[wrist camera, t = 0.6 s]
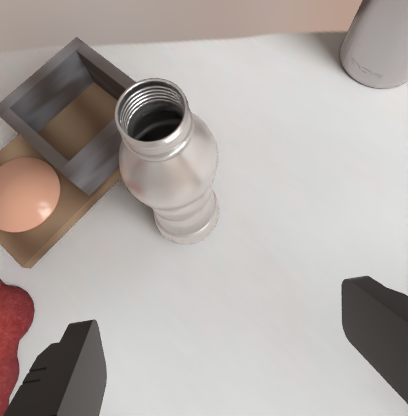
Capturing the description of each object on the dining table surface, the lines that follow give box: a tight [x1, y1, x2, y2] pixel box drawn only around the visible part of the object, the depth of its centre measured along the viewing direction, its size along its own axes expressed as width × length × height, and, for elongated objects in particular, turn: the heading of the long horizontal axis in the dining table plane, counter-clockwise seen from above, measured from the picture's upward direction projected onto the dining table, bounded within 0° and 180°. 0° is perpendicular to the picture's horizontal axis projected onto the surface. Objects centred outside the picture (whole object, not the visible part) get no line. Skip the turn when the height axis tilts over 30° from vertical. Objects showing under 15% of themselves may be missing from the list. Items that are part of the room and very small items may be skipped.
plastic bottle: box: [115, 78, 219, 245], centre depth 25 cm, size 6×7×20 cm
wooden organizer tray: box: [0, 37, 136, 268], centre depth 34 cm, size 21×12×6 cm, turn 139°
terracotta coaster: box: [0, 157, 61, 233], centre depth 34 cm, size 8×8×1 cm
